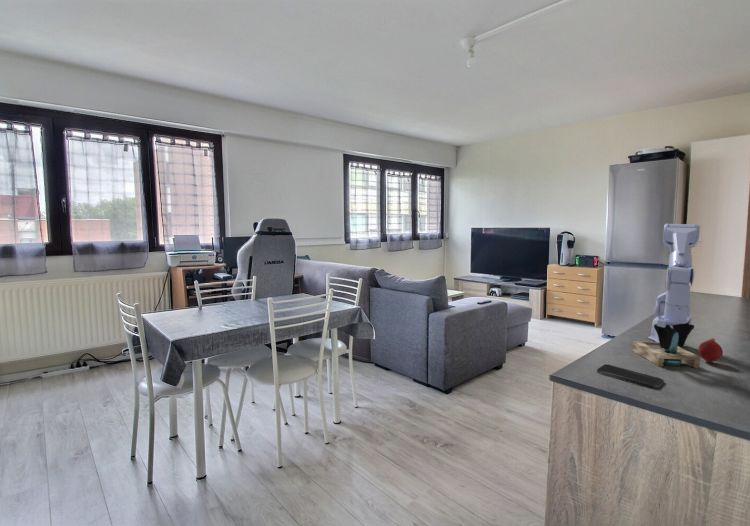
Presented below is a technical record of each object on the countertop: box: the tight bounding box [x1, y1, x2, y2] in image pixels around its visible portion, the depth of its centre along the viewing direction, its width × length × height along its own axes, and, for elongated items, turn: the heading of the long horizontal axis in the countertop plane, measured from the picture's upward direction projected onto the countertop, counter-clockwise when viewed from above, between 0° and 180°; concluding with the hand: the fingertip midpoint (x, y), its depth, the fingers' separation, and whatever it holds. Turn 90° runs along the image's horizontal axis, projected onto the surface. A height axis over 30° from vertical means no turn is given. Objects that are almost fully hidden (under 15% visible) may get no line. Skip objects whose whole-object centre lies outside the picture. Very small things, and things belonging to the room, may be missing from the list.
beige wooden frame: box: [631, 340, 701, 369], centre depth 126 cm, size 14×12×4 cm
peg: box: [663, 332, 683, 367], centre depth 123 cm, size 6×6×10 cm
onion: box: [697, 337, 724, 363], centre depth 124 cm, size 6×6×8 cm
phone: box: [596, 363, 665, 390], centre depth 111 cm, size 8×1×15 cm
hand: (671, 347), depth 123 cm, fingers open, 7 cm apart
